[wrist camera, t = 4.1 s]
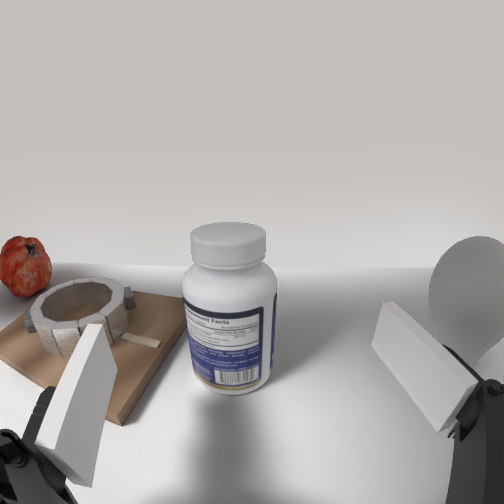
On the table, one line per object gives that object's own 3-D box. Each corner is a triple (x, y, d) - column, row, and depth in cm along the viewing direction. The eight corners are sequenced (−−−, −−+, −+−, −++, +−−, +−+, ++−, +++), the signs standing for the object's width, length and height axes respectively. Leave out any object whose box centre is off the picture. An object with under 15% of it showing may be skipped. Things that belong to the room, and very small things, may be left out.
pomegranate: (5, 317, 24) (12, 286, 19) (-12, 265, 24) (-6, 223, 20) (48, 300, 30) (68, 268, 26) (30, 253, 31) (48, 213, 26)
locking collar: (24, 339, 17) (13, 313, 16) (79, 295, 25) (73, 273, 24) (91, 370, 15) (80, 341, 15) (146, 309, 23) (142, 283, 22)
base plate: (-10, 351, 15) (-15, 341, 15) (74, 287, 28) (72, 278, 28) (121, 426, 13) (115, 414, 12) (197, 309, 26) (196, 298, 25)
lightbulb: (387, 367, 18) (426, 217, 14) (454, 366, 16) (500, 229, 13) (398, 433, 12) (476, 254, 8) (477, 423, 11) (556, 264, 7)
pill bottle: (225, 337, 22) (221, 214, 18) (285, 361, 19) (297, 227, 16) (177, 373, 18) (156, 234, 14) (242, 410, 15) (240, 256, 11)
